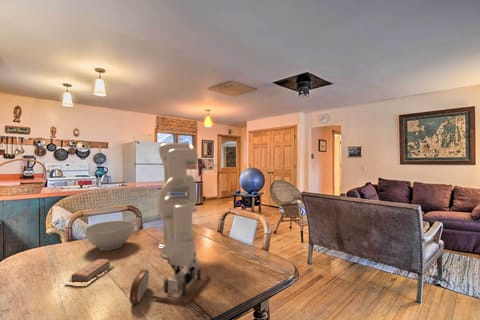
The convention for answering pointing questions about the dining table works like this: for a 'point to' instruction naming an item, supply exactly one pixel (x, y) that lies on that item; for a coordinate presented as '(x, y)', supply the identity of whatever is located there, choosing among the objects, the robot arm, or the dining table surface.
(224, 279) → the dining table surface
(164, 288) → the peg stand
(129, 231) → the decorative bowl
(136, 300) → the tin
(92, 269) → the packaged product
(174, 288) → the steel bar
